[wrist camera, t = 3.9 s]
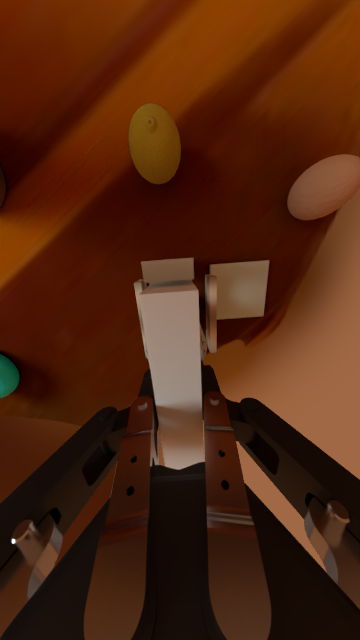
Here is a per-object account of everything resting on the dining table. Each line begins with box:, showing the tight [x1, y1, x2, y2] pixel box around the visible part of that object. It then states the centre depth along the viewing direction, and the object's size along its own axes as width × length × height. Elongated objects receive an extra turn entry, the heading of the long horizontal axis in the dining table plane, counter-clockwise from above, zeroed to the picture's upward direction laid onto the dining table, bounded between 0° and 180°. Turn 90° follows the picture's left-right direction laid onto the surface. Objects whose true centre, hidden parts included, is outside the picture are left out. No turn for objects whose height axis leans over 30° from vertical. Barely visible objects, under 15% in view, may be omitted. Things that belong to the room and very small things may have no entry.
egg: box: [287, 154, 360, 220], centre depth 20 cm, size 6×6×8 cm
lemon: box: [129, 103, 181, 184], centre depth 18 cm, size 6×6×8 cm
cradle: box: [134, 258, 217, 357], centre depth 20 cm, size 17×12×19 cm
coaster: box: [209, 260, 269, 320], centre depth 27 cm, size 9×9×1 cm
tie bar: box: [139, 282, 204, 470], centre depth 11 cm, size 14×2×3 cm, turn 4°
